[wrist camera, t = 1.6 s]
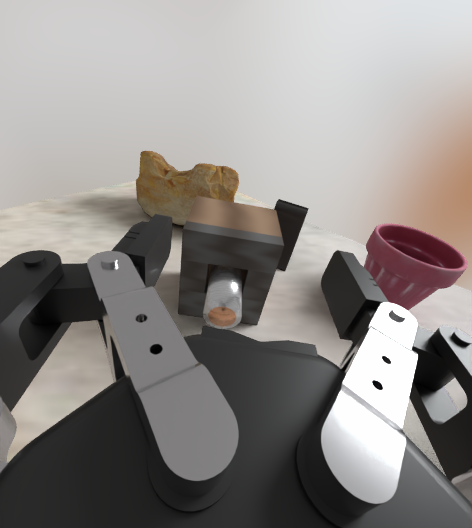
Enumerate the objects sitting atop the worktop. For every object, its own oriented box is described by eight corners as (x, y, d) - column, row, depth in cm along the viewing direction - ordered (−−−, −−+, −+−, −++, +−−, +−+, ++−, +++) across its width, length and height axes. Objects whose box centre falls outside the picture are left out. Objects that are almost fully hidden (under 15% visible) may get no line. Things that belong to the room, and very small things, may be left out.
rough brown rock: (247, 224, 66) (260, 164, 59) (219, 247, 53) (231, 174, 45) (172, 199, 72) (175, 142, 64) (130, 214, 58) (127, 144, 51)
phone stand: (284, 271, 51) (304, 218, 44) (257, 261, 52) (272, 207, 45) (293, 250, 58) (311, 201, 51) (268, 242, 59) (283, 193, 52)
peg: (239, 277, 38) (244, 254, 36) (237, 332, 30) (244, 306, 28) (210, 273, 38) (214, 249, 36) (201, 327, 30) (204, 300, 27)
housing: (255, 282, 47) (276, 209, 38) (257, 324, 39) (284, 245, 30) (190, 272, 46) (196, 195, 37) (178, 313, 38) (183, 228, 29)
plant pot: (330, 275, 53) (358, 220, 45) (382, 273, 57) (416, 222, 49) (377, 331, 42) (424, 272, 34) (436, 323, 46) (490, 268, 39)
